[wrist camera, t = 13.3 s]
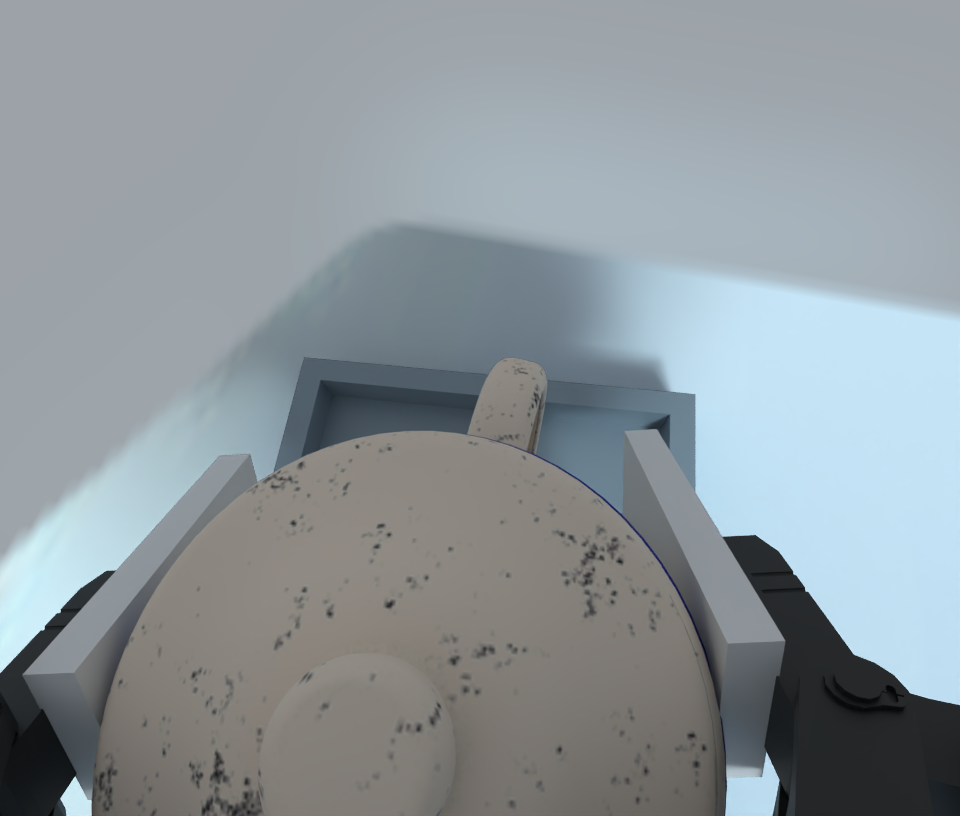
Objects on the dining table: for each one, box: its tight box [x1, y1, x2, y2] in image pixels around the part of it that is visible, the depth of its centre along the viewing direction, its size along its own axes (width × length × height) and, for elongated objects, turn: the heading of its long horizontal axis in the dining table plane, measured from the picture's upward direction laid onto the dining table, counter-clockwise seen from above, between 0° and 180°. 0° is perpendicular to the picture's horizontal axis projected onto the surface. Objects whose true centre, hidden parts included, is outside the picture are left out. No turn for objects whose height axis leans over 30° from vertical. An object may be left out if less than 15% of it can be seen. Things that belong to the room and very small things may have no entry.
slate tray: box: [274, 357, 695, 514], centre depth 18 cm, size 14×17×2 cm
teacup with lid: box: [92, 358, 727, 816], centre depth 12 cm, size 12×9×12 cm
